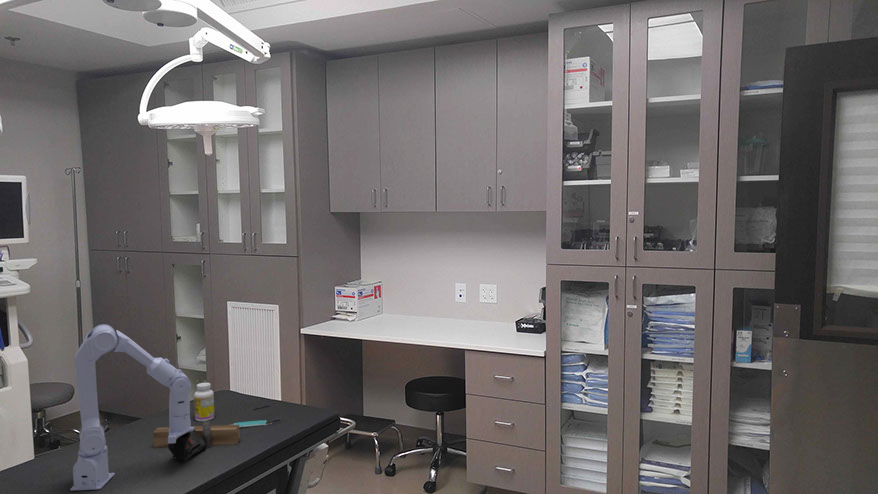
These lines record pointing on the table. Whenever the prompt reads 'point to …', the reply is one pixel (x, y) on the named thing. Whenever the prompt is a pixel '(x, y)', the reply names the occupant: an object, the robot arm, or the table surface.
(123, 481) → the table surface
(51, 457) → the table surface
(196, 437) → the battery
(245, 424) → the surgical mask
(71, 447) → the table surface
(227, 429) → the bar
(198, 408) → the supplement bottle
